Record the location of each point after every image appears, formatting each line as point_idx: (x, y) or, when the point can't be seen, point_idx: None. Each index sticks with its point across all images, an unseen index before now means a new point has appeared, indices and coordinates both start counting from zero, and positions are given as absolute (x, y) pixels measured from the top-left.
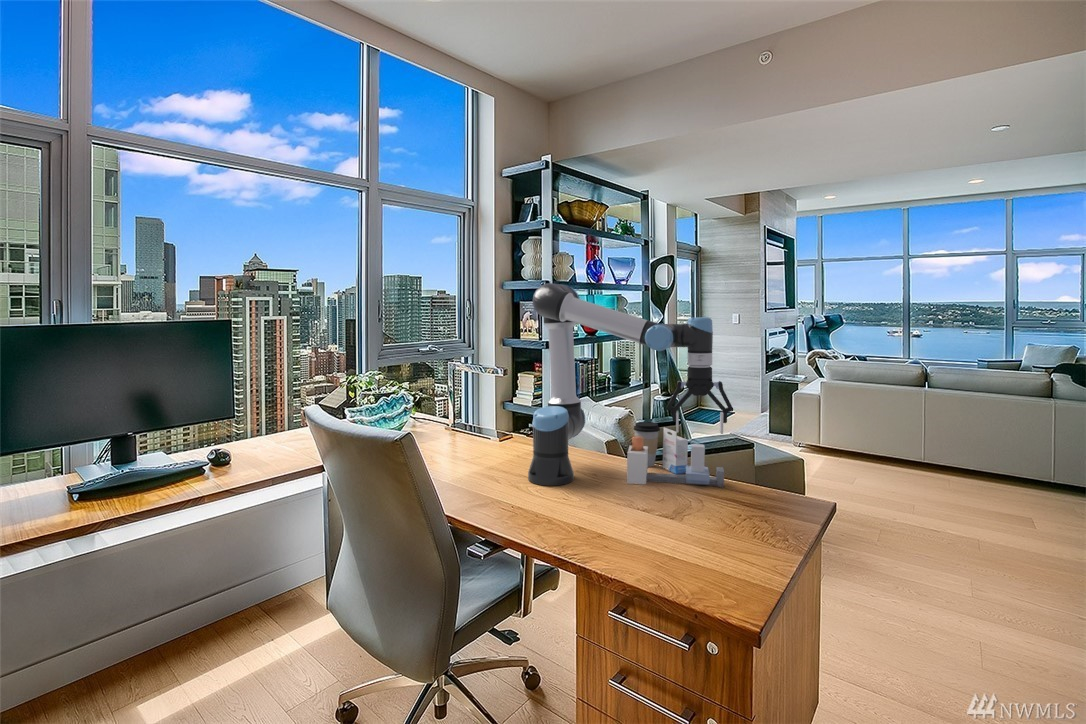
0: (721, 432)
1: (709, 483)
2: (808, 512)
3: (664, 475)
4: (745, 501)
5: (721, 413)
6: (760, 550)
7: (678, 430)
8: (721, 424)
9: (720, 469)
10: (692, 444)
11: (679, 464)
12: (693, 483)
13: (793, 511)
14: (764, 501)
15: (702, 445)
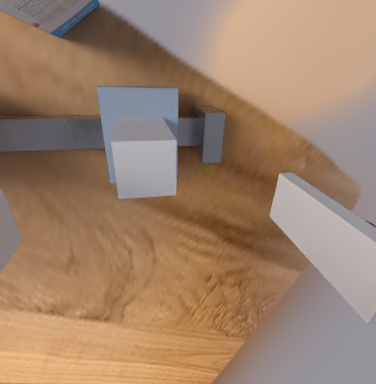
0: (277, 220)
1: None
2: None
3: (33, 141)
4: (233, 221)
5: (373, 320)
6: (211, 346)
7: (15, 249)
8: (306, 251)
9: (214, 140)
10: (118, 151)
11: (61, 23)
12: None
13: None
14: (266, 211)
15: (167, 160)
